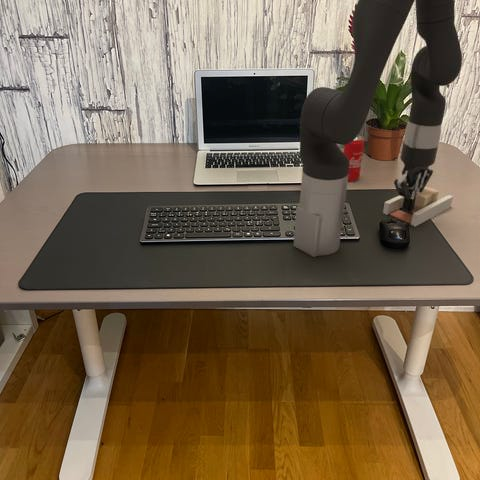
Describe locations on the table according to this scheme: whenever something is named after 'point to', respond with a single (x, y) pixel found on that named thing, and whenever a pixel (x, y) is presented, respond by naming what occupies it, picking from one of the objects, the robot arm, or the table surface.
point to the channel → (419, 215)
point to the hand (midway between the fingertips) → (407, 210)
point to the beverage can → (354, 157)
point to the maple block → (425, 199)
